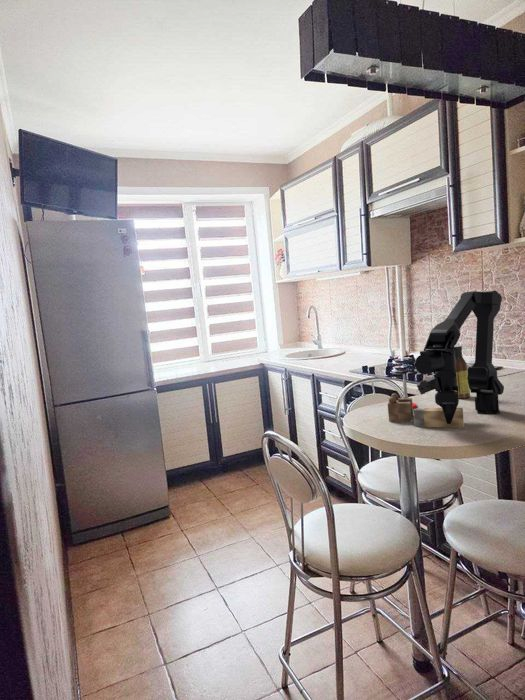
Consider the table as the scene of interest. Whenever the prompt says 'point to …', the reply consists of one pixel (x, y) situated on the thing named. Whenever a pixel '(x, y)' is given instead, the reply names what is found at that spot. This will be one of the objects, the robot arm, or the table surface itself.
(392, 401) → the arched block with knobs
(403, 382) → the tow hook
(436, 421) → the bed rail
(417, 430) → the table surface
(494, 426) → the table surface
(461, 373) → the sauce bottle
